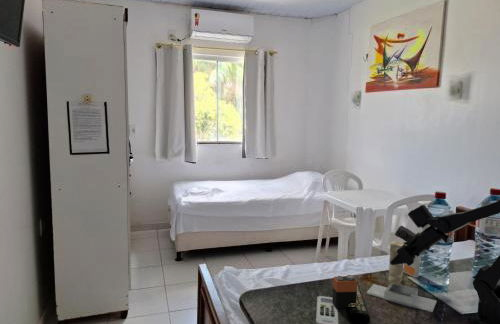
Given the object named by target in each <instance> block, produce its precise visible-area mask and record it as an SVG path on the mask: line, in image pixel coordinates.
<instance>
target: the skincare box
mask: <svg viewBox="0 0 500 324" xmlns="http://www.w3.org/2000/svg"><path fill="white" fill-rule="evenodd" d="M415 257H416V259H415V262H414V263H413V264H411V265H410V266H408V265H407V264H406V263H405V264H403V273H405V274H406V275H408V276H411V277H413V278H414V277H417V278H419V277H418V274H419V267H420V261H421V254H420V255H419V256H418V257H417V256H415Z"/></svg>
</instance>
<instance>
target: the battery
mask: <svg viewBox="0 0 500 324" xmlns="http://www.w3.org/2000/svg"><path fill="white" fill-rule="evenodd" d="M357 290H358V281H357V280H356V279H355V277H354V275H351V274H347V275H346V276H343V275H342V276H341V275H338V276H334V277H333V280H332V299H331V300H332V304H333V306H334V308H336V309H348V308H347V306H348V304H350V303H356V304H357V294H358V292H357Z"/></svg>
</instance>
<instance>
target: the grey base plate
mask: <svg viewBox="0 0 500 324" xmlns="http://www.w3.org/2000/svg"><path fill="white" fill-rule="evenodd" d="M418 291H419V288H416V287H411V286H407V285H404V284H401V283H397V282H393V281H390V283H389V284H388V286H387V287H386V286H383V285H380V284H379V285H378V284H375V283H373V284H372V285H371V287H370V288H369V289H368V290H367V291H366V295H369V296H373V297H376V298H380V299H383V300H385V301H388V302H391V303H396V304H399V305H402V306H406V307H410V308H415V309H418V310H422V311H425V312H429V313H433V312H434V310H435V308H436V306H437V300H436V299H432V298H428V297H424V296H420V295H418V293H419V292H418Z"/></svg>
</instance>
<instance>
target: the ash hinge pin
mask: <svg viewBox="0 0 500 324" xmlns="http://www.w3.org/2000/svg"><path fill="white" fill-rule="evenodd" d="M401 246H404V242H399V241H394V240H393V241H391V242H390V246H389V247H390V248H389V265H388V281H389V282H393V283H397V284H401V282H402V281H403V273H404V272H403V268H404V264H396V265H391V263H390V262H391V261H392V260H393V259H394V258H395V257H396V256H397V255H398V253H397V250H398V249H399V247H401Z"/></svg>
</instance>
